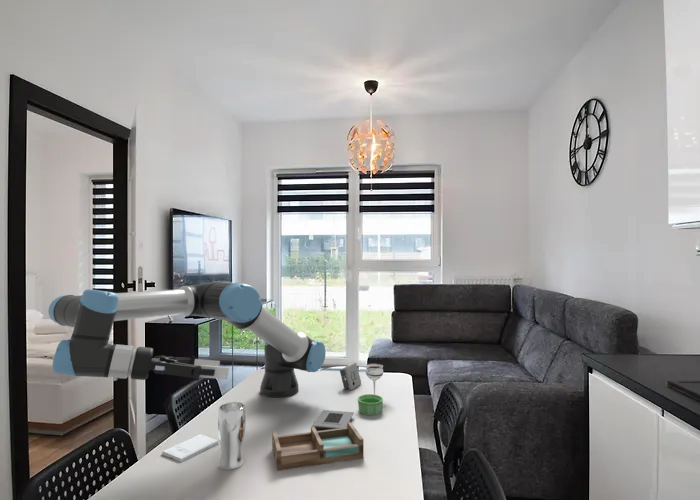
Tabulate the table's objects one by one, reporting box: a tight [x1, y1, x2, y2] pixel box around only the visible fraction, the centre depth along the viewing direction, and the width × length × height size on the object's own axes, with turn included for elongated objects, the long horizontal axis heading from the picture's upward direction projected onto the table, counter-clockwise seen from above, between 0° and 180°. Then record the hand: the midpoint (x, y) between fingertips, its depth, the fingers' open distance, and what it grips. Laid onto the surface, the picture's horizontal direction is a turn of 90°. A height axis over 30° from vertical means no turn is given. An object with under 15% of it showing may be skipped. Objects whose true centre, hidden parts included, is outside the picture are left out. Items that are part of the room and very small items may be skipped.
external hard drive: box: [161, 433, 219, 463], centre depth 115 cm, size 2×8×12 cm
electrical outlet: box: [311, 409, 354, 430], centre depth 132 cm, size 13×10×2 cm
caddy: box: [271, 421, 365, 472], centre depth 112 cm, size 12×23×5 cm, turn 107°
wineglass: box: [365, 363, 384, 395], centre depth 156 cm, size 7×7×12 cm
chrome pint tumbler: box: [217, 401, 247, 471], centre depth 106 cm, size 7×7×15 cm
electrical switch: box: [339, 362, 362, 391], centre depth 169 cm, size 9×5×9 cm, turn 152°
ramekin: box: [356, 393, 384, 416], centre depth 143 cm, size 9×9×4 cm
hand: (223, 369), depth 106 cm, fingers open, 13 cm apart
